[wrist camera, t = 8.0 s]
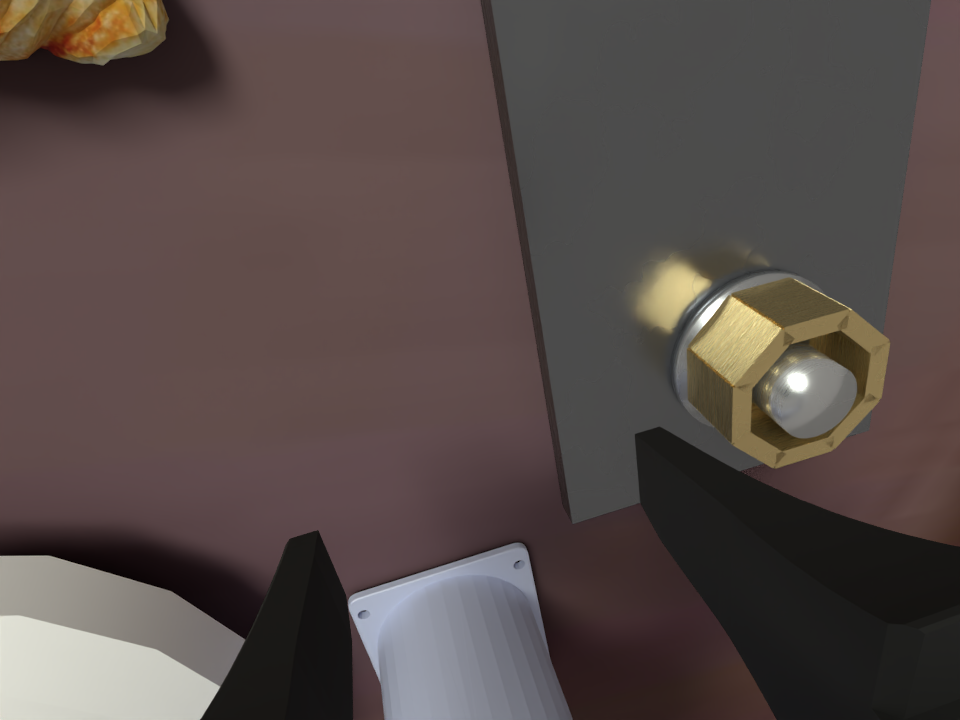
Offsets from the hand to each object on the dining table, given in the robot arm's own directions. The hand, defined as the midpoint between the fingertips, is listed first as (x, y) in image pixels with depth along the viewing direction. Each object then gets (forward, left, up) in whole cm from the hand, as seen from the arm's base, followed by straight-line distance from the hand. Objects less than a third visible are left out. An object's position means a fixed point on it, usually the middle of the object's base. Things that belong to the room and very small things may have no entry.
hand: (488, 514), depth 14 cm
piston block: (0, -11, -10) cm, 15 cm away
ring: (-4, -12, -8) cm, 15 cm away
